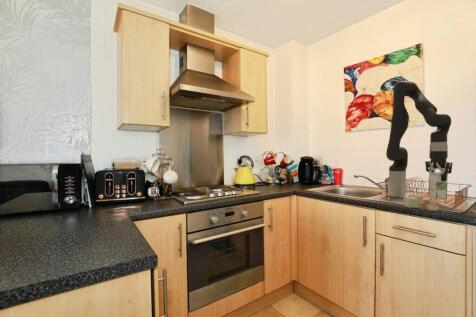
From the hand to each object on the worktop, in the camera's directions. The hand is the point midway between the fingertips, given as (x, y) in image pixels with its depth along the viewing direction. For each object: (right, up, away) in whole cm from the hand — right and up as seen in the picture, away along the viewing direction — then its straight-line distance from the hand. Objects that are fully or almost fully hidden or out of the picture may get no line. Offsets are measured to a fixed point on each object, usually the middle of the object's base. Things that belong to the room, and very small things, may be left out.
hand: (437, 180), depth 126 cm
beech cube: (-12, -14, -9) cm, 21 cm away
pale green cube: (-10, -14, +3) cm, 17 cm away
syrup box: (0, -10, 0) cm, 10 cm away
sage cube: (-17, -14, -2) cm, 22 cm away
